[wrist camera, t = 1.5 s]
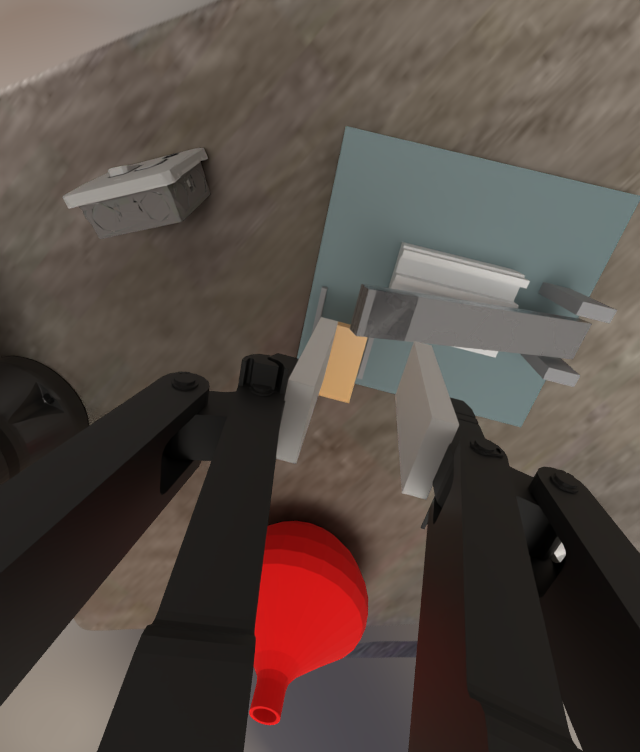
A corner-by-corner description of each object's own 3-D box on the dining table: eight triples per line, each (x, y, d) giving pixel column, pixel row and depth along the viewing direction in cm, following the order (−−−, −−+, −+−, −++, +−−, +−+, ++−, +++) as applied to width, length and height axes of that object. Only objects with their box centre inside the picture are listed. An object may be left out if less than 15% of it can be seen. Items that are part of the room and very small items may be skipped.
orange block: (316, 358, 40) (303, 391, 33) (330, 298, 38) (319, 320, 31) (354, 368, 40) (348, 403, 33) (371, 309, 37) (368, 333, 31)
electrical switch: (208, 146, 35) (158, 143, 27) (225, 207, 38) (184, 221, 30) (117, 169, 37) (45, 172, 29) (139, 226, 40) (79, 244, 31)
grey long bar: (349, 328, 25) (356, 336, 24) (361, 283, 24) (368, 289, 23) (560, 352, 32) (572, 359, 31) (578, 318, 31) (591, 323, 30)
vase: (268, 474, 49) (206, 621, 32) (395, 537, 50) (403, 713, 33) (219, 561, 57) (148, 718, 40) (331, 614, 58) (309, 789, 41)
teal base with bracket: (297, 362, 42) (277, 400, 34) (347, 129, 33) (336, 105, 25) (516, 419, 41) (549, 473, 33) (631, 196, 32) (715, 194, 24)
